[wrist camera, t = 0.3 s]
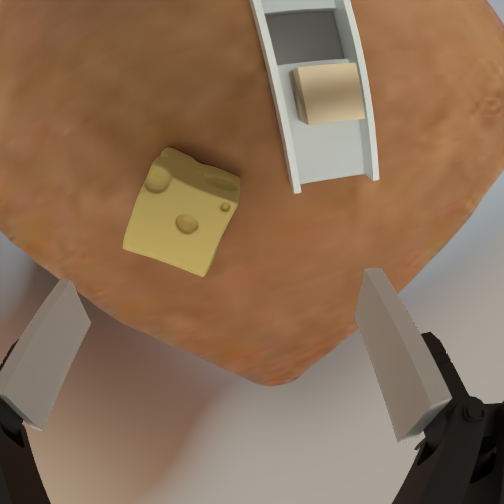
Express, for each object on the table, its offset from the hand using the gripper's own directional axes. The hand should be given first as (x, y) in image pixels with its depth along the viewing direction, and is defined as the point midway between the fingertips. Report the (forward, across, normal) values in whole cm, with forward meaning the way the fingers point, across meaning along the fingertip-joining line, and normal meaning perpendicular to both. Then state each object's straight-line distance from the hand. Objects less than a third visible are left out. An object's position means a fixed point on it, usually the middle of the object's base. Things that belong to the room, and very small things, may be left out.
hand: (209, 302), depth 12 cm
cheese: (+27, -6, -4) cm, 28 cm away
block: (+25, +10, +8) cm, 28 cm away
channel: (+27, +10, +9) cm, 30 cm away
